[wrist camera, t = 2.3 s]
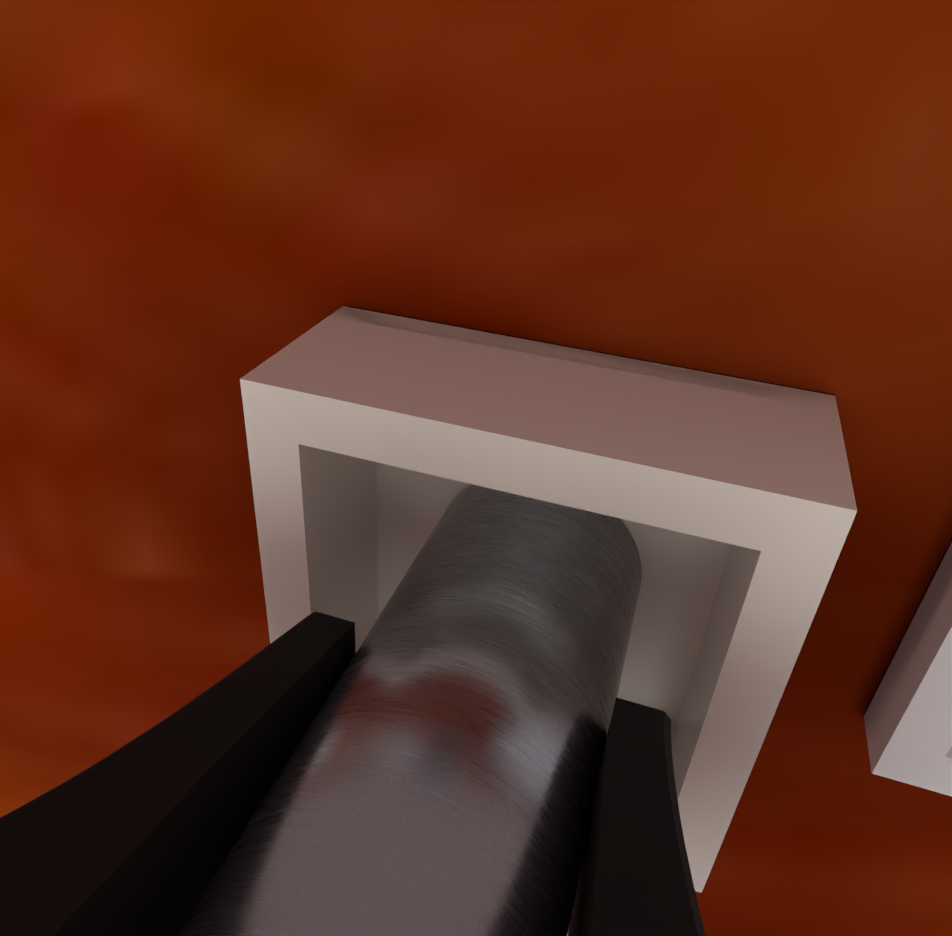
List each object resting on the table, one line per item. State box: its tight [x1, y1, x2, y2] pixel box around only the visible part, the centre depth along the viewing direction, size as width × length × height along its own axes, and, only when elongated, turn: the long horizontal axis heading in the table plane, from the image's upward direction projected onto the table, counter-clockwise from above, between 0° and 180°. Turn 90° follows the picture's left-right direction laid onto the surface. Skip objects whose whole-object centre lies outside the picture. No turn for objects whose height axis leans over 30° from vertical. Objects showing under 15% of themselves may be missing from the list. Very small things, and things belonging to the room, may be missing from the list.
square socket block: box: [240, 306, 857, 893], centre depth 12 cm, size 8×8×3 cm
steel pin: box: [177, 484, 642, 936], centre depth 9 cm, size 4×4×9 cm
